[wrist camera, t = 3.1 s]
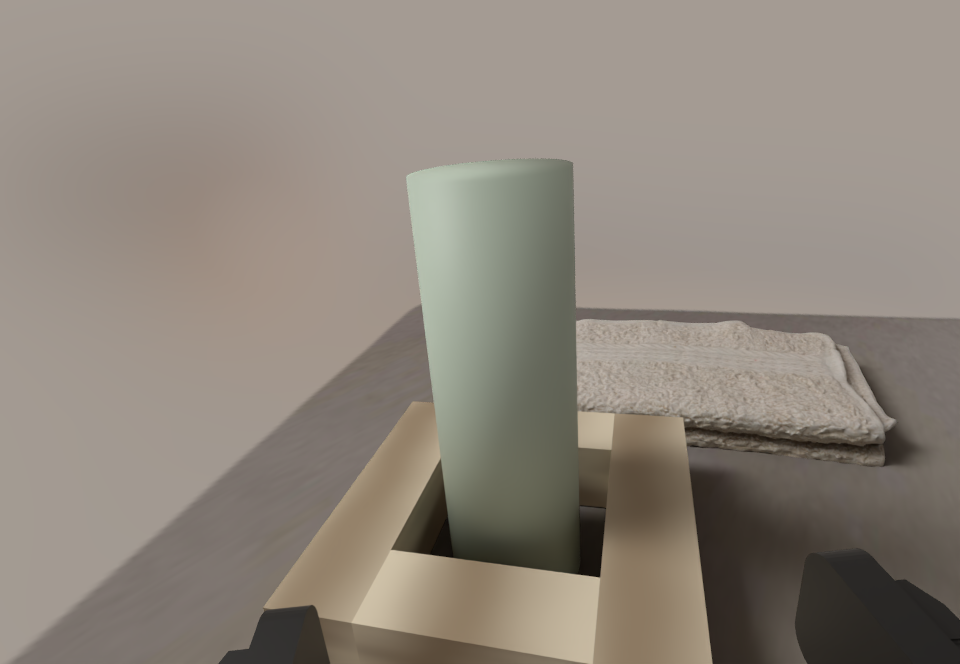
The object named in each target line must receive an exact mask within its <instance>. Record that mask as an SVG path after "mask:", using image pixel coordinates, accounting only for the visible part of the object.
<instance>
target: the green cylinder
mask: <svg viewBox="0 0 960 664" xmlns="http://www.w3.org/2000/svg"><path fill="white" fill-rule="evenodd" d="M406 182H407V190H408V198H409V206H410V214H411V222H412V230H413V238H414V246H415V254H416V262H417V270H418V278H419V286H420V294H421V302H422V311H423V319H424V327H425V335H426V343H427V351H428V359H429V367H430V375H431V383H432V391H433V399H434V407H435V415H436V423H437V431H438V439H439V447H440V455H441V463H442V471H443V479H444V488H445V496H446V504H447V512H448V520H449V528H450V536H451V544H452V552H453V558H456V559H464V560H471V561H479V562H486V563H494V564H501V565H509V566H516V567H524V568H531V569H539V570H546V571H554V572H562V573H569V574H578V572H579V567H580V516H579V461H578V407H577V353H576V300H575V247H574V246H575V245H574V190H573V163H572V162H570V161H566V160H559V159H508V160H493V161H482V162H471V163H462V164H455V165H448V166H441V167H435V168H430V169H425V170H421V171H417V172H414V173H411V174H409V175H407V176H406Z"/></svg>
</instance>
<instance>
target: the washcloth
mask: <svg viewBox="0 0 960 664" xmlns="http://www.w3.org/2000/svg"><path fill="white" fill-rule="evenodd" d="M576 353H577V407H578V411H582V412H599V413H616V414H633V415H650V416H666V417H683V421H684V429H685V438H686V446H692V445H694V446H699V447H707V448H713V447H718V448H721V449H729V450H736V451H741V452H744V451H754V452H763V453H771V454H775V455H786V456H791V457H796V458H807V459H819V460H823V461H836V462H839V463H850V464H858V465H863V466H879V467H882V466H883V465H884V462H885V452H884V447H883V443H884V441H885V432H887V431H889V430H890V429H892V428H893V427H895V425H896V424H897V423H898V422H897V420H896V419H893V418H890V417H888V416H887V415H886V414H885V413H884V411H883V409H882V408H881V407H880V406H879V404H878V403H877V401H876V398H875V397H874V394H873V392H872V390H871V389H870V387H869V386H868V383H867V381H866V380H865V377H864V376H863V374H862V372H861V370H860V368H859V365H858V364H857V362H856V361H855V359H854V357H853V356H852V354H851V353H850V351H849V347H847V346H842V345H838V344H835V343H834V342H833V341H832V339H831V338H830V337H829V336H828V335H826V334H821V333H803V334H796V333H785V332H778V331H773V330H767V331H766V330H762V329H756V328H751V327H750V326H748V325H747V324H745V323H744V322H742V321H725V322H720V323H682V322H669V321H663V320H659V321H653V320H630V321H609V320H595V319H584V320H580V321H576Z"/></svg>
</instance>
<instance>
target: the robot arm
mask: <svg viewBox="0 0 960 664" xmlns="http://www.w3.org/2000/svg"><path fill="white" fill-rule="evenodd" d="M795 629H796V635H797V639H798V643H799V646H800V649H801V651H802V654H803V656H804V658H805V660H806V662H807V664H960V620H959V619H958V618H957V617H956V616H955V615H954V614H953V613H952V612H951V611H950V610H949V609H948V608H947V607H946V606H945V605H944V604H943V603H941V602H940V601H938V600H936V599H935V598H933V597H932V596H930V595H929V594H927V593H925V592H924V591H922V590H921V589H919V588H918V587H916V586H915V585H913V584H911V583H910V582H908V581H907V580H896V581H895V580H894V579H893V578H892V577H891V576H890V575H889V574H888V573H887V572H886V571H885V570H884V569H883V568H882V567H881V566H880V565H879V563H878V562H877V561H876V560H875V559H874V558H873V557H872V556H871V555H870V554H868V553H867V552H866V551H864V550H862V549H858V548H856V549H846V550H837V551H827V552H818V553H811V554H809V555H808V556H807V558H806V561H805V566H804V572H803V578H802V584H801V589H800V595H799V601H798V607H797V613H796V619H795ZM219 664H330V660H329V656H328V652H327V648H326V644H325V640H324V636H323V632H322V628H321V624H320V620H319V616H318V612H317V610H316V607H315V606H314V605H308V606H298V607H289V608H280V609H270V610H266V611H264V613H263V614H262V615H261V617H260V620H259V622H258V625H257V628H256V631H255V633H254V636H253V639H252V642H251V645H250V647H249V649H244V650H235V651H228V653H227V654H226V655H225V656H224V657H223V659H222V660H221V661H220V662H219Z"/></svg>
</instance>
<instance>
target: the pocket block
mask: <svg viewBox="0 0 960 664" xmlns="http://www.w3.org/2000/svg"><path fill="white" fill-rule="evenodd" d="M578 461H579V505H584V506H594V507H604V508H606V518H605V529H604V541H603V552H602V563H601V575H600V578H599V577H592V576H584V575H577V574H569V573H562V572H554V571H546V570H539V569H531V568H524V567H516V566H509V565H501V564H494V563H486V562H479V561H471V560H464V559H456V558H449V557H441V556H434V555H430V553H431V551H432V549H433V546H434V544H435V542H436V540H437V538H438V535H439V533H440V531H441V529H442V527H443V524H444V522H445V520H446V518H447V515H448V512H447V504H446V496H445V488H444V479H443V471H442V463H441V455H440V447H439V439H438V431H437V423H436V415H435V407H434V403H430V402H412V403H411V405H410V406H409V408H408V409H407V410H406V412H405V413H404V414H403V416H402V417H401V419H400V420H399V421H398V423H397V424H396V425H395V427H394V428H393V430H392V431H391V432H390V434H389V435H388V436H387V438H386V439H385V441H384V442H383V443H382V445H381V446H380V447H379V449H378V450H377V452H376V453H375V454H374V456H373V457H372V458H371V460H370V461H369V463H368V464H367V465H366V467H365V468H364V469H363V471H362V472H361V474H360V475H359V476H358V478H357V479H356V480H355V482H354V483H353V485H352V486H351V487H350V489H349V490H348V491H347V493H346V494H345V496H344V497H343V498H342V500H341V501H340V502H339V504H338V505H337V507H336V508H335V509H334V511H333V512H332V514H331V515H330V516H329V518H328V519H327V520H326V522H325V523H324V525H323V526H322V527H321V529H320V530H319V531H318V533H317V534H316V536H315V537H314V538H313V540H312V541H311V542H310V544H309V545H308V547H307V548H306V549H305V551H304V552H303V553H302V555H301V556H300V558H299V559H298V560H297V562H296V563H295V564H294V566H293V567H292V569H291V570H290V571H289V573H288V574H287V575H286V577H285V578H284V580H283V581H282V582H281V584H280V585H279V586H278V588H277V589H276V591H275V592H274V593H273V595H272V596H271V597H270V599H269V600H268V602H267V603H266V604H265V606H264V607H263V609H264V611H266V610H270V609H280V608H289V607H298V606H308V605H314V606H315V607H316V610H317V612H318V616H319V620H320V624H321V628H322V632H323V636H324V640H325V644H326V648H327V652H328V656H329V660H330V664H712V656H711V647H710V639H709V630H708V622H707V614H706V605H705V597H704V589H703V580H702V572H701V563H700V555H699V547H698V538H697V530H696V521H695V513H694V505H693V496H692V488H691V480H690V471H689V463H688V454H687V446H686V438H685V429H684V421H683V417H666V416H650V415H633V414H616V413H599V412H582V411H578Z"/></svg>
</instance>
